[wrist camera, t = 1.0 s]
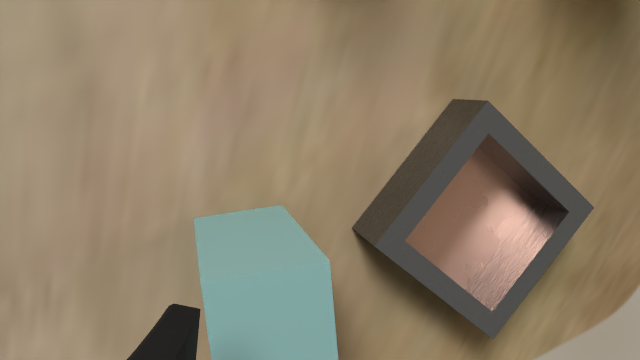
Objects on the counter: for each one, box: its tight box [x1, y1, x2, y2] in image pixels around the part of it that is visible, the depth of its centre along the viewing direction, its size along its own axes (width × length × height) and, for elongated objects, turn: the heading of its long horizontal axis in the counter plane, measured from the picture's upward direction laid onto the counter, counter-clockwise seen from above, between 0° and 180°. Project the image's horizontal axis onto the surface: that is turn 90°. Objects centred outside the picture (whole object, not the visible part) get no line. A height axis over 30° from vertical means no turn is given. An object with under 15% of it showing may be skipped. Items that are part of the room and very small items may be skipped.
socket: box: [352, 99, 594, 339], centre depth 25 cm, size 8×8×3 cm
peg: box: [194, 205, 338, 360], centre depth 20 cm, size 4×4×8 cm
